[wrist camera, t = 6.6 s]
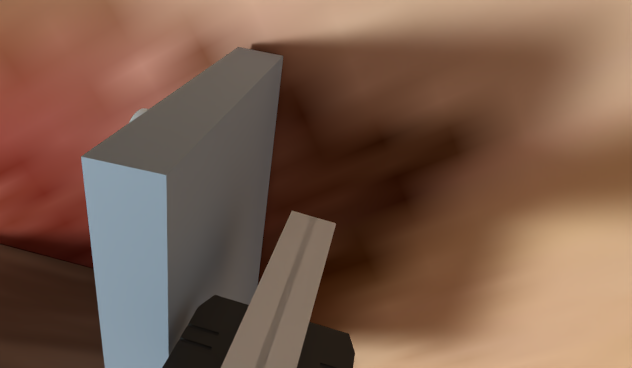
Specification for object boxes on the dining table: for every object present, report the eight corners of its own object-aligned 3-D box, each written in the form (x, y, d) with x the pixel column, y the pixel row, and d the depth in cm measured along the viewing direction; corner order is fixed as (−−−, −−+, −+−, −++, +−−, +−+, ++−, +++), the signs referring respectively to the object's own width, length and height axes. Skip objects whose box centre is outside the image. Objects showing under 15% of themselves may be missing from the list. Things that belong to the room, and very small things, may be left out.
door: (197, 302, 22) (84, 502, 15) (204, 40, 16) (18, 142, 9) (254, 315, 22) (170, 526, 14) (283, 55, 16) (166, 175, 8)
